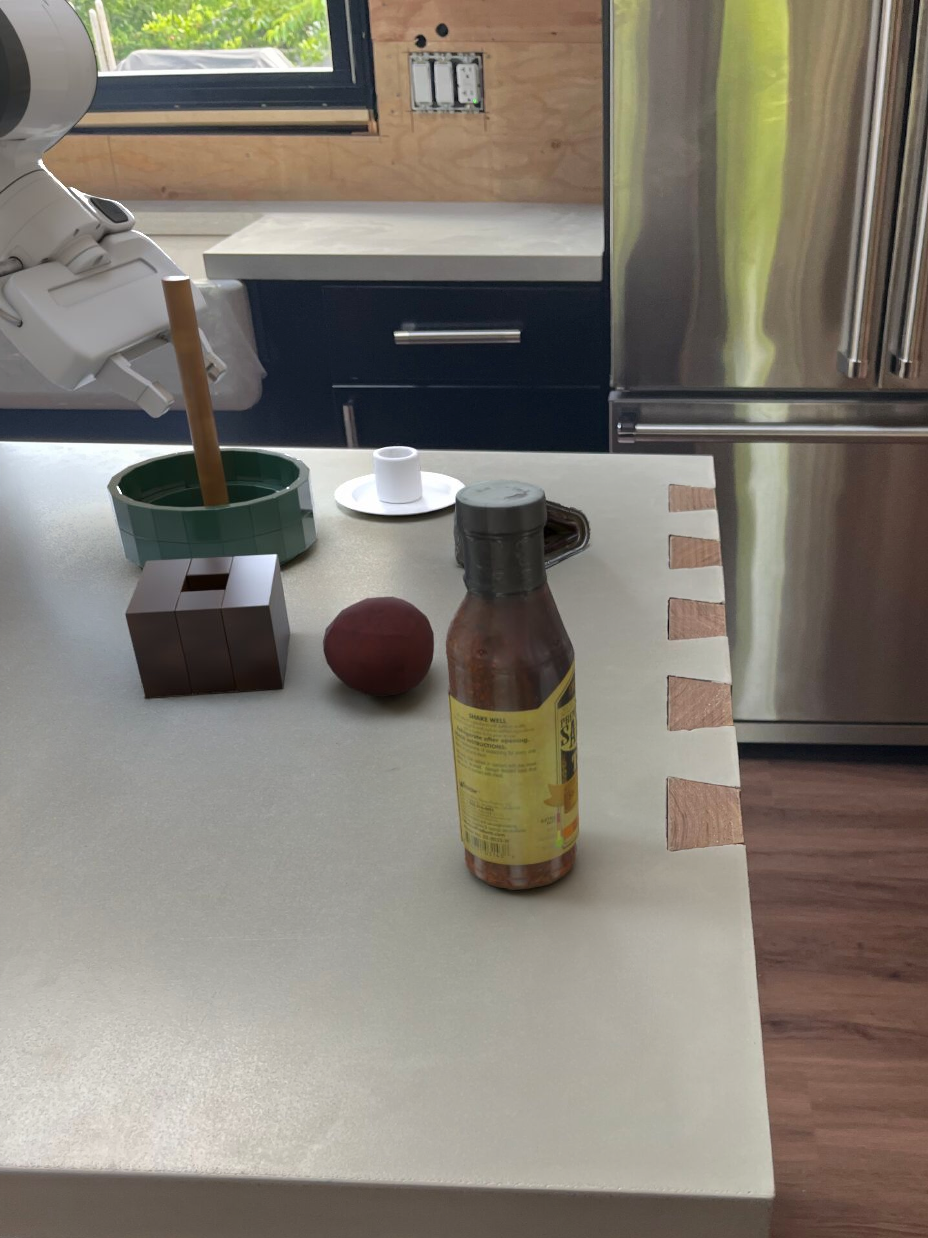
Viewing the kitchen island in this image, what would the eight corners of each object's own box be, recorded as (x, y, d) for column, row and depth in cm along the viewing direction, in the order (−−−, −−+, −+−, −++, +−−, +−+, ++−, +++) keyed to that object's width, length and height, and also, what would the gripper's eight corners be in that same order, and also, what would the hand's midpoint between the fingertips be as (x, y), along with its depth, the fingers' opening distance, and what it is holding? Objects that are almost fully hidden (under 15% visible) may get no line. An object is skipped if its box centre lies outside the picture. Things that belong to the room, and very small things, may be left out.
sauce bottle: (592, 885, 61) (592, 512, 50) (474, 905, 60) (446, 526, 49) (562, 817, 66) (555, 465, 55) (451, 834, 65) (421, 476, 54)
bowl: (109, 590, 92) (90, 514, 88) (140, 519, 104) (125, 451, 101) (315, 579, 94) (304, 505, 91) (321, 511, 107) (312, 444, 103)
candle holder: (493, 498, 110) (491, 451, 108) (394, 532, 102) (389, 483, 100) (408, 470, 116) (404, 425, 114) (308, 500, 109) (302, 453, 106)
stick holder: (145, 698, 77) (124, 613, 74) (164, 640, 84) (146, 560, 81) (283, 689, 79) (269, 605, 75) (290, 632, 86) (277, 553, 82)
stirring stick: (209, 542, 98) (158, 280, 87) (212, 533, 99) (163, 275, 88) (233, 541, 98) (187, 280, 87) (236, 532, 100) (191, 275, 88)
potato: (301, 703, 77) (288, 618, 74) (368, 651, 83) (359, 571, 80) (400, 725, 75) (390, 638, 71) (461, 670, 81) (455, 588, 78)
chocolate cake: (535, 528, 105) (444, 451, 96) (596, 522, 101) (507, 441, 91) (504, 625, 103) (408, 556, 94) (566, 624, 99) (471, 551, 89)
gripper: (-21, 238, 77) (152, 400, 81) (131, 199, 94) (267, 335, 98) (-63, 309, 80) (106, 461, 84) (91, 259, 97) (226, 388, 101)
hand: (194, 393), depth 91 cm, fingers open, 8 cm apart
